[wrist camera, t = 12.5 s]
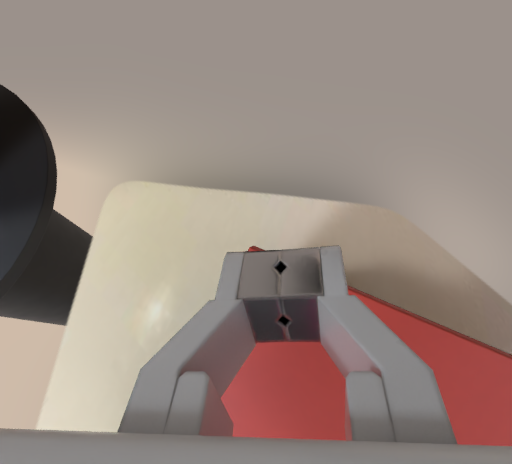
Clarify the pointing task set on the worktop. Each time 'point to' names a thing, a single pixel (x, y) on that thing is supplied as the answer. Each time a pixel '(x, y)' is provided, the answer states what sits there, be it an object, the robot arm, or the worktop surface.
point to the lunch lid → (333, 383)
